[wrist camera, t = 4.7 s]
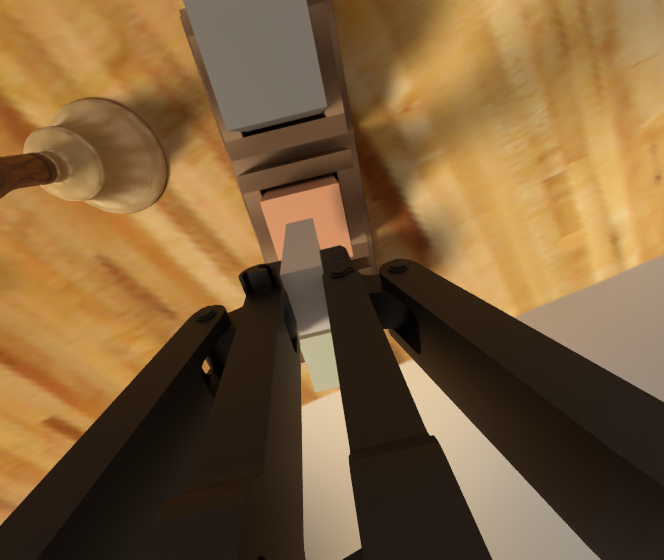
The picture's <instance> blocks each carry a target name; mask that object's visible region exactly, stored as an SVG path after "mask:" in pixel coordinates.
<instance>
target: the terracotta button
mask: <svg viewBox="0 0 664 560" xmlns="http://www.w3.org/2000/svg"><path fill="white" fill-rule="evenodd" d="M260 204H261V208H262V211H263V214H264V217H265V220H266V223H267V226H268V229H269V232H270V235H271V238H272V241H273V244H274V248H275V251H276V254H277V257H278V260H279V261H280V260H282V253H283V245H284V237H285V229H286V224H288V223H293V222H297V221H301V220H305V219H309V218H313V221H314V225H315V229H316V233H317V237H318V241H319V244H320V248H321V250H322V249H326V248H330V247H334V246H338V245H341V246H343V247H345V248H346V249H347V251H348V254H349V257H353V252H352V247H351V242H350V237H349V232H348V227H347V222H346V217H345V212H344V207H343V202H342V197H341V192H340V187H339V183H338V181H337V180H336V179H335V177H334V176H333V175H332V173H328V174H324V175H320V176H316V177H312V178H307V179H303V180H299V181H295V182H291V183H287V184H283V185H279V186H275V187H271V188H268V189H267V191H266V192H265V194H264V196H263V197H262V199H261V201H260Z"/></svg>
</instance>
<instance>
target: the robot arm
mask: <svg viewBox="0 0 664 560" xmlns="http://www.w3.org/2000/svg"><path fill="white" fill-rule="evenodd" d="M238 277H239V280H240V282H241V284H242V287H243V289H244V292H245V294H246V299H245V302H244V305H243V307H241V308H239V309H236V310H234V311H232V312H229V313H227V311H226V309H225V307H224V306H222V305H213V306H207V307H205V308H202V309H200V310H199V311H198V312H196V313H194V314H193V315H192V316H191V317H190V318H189V319H188V320H187V321H186V322H185V323H184V324H183V326H182V327H181V328H180V329H179V330H178V331H177V332H176V333H175V334H174V335H173V337H172V338H171V339H170V340H169V341H168V342H167V343H166V344H165V345H164V346H163V348H162V349H161V350H160V351H159V352H158V353H157V354H156V355H155V356H154V357H153V358H152V360H151V361H150V362H149V363H148V364H147V365H146V366H145V367H144V368H143V369H142V371H141V372H140V373H139V374H138V375H137V376H136V377H135V378H134V379H133V380H132V382H131V383H130V384H129V385H128V386H127V387H126V388H125V389H124V390H123V391H122V393H121V394H120V395H119V396H118V397H117V398H116V399H115V400H114V401H113V402H112V404H111V405H110V406H109V407H108V408H107V409H106V410H105V411H104V412H103V413H102V415H101V416H100V417H99V418H98V419H97V420H96V421H95V422H94V423H93V424H92V426H91V427H90V428H89V429H88V430H87V431H86V432H85V433H84V434H83V435H82V437H81V438H80V439H79V440H78V441H77V442H76V443H75V444H74V445H73V446H72V448H71V449H70V450H69V451H68V452H67V453H66V454H65V455H64V456H63V457H62V459H61V460H60V461H59V462H58V463H57V464H56V465H55V466H54V467H53V468H52V470H51V471H50V472H49V473H48V474H47V475H46V476H45V477H44V478H43V479H42V481H41V482H40V483H39V484H38V485H37V486H36V487H35V488H34V489H33V490H32V492H31V493H30V494H29V495H28V496H27V497H26V498H25V499H24V500H23V501H22V503H21V504H20V505H19V506H18V507H17V508H16V509H15V510H14V511H13V512H12V514H11V515H10V516H9V517H8V518H7V519H6V520H5V521H4V522H3V523H2V525H1V526H0V560H306V559H305V552H304V541H303V540H304V539H303V479H302V422H301V361H300V341H299V338H298V335H297V328H298V331H299V334H300V336H301V335H305V334H309V333H313V332H318V331H322V330H326V329H331V335H332V341H333V347H334V354H335V360H336V366H337V372H338V378H339V384H340V391H341V397H342V403H343V409H344V415H345V421H346V428H347V433H348V440H349V447H350V455H349V466H350V473H351V480H352V487H353V494H354V500H355V507H356V512H357V520H358V526H359V533H360V540H361V546H362V548H361V549H359V550H358V551H356V552H354V553H353V554H351V555H349V556H348V557H346V558H344V559H343V560H492V558H491V556H490V554H489V551H488V549H487V547H486V545H485V543H484V540H483V538H482V536H481V534H480V531H479V529H478V527H477V525H476V523H475V520H474V518H473V516H472V514H471V511H470V509H469V507H468V505H467V503H466V500H465V498H464V496H463V494H462V491H461V490H460V487H459V485H458V483H457V480H456V478H455V476H454V474H453V472H452V469H451V467H450V465H449V463H448V460H447V458H446V456H445V454H444V452H443V450H442V448H441V446H440V444H439V442H438V441H437V439H436V438H435V436H434V435H433V436H430V435H429V434H428V432H427V430H426V428H425V426H424V424H423V421H422V419H421V417H420V414H419V412H418V410H417V407H416V405H415V403H414V401H413V398H412V396H411V393H410V391H409V388H408V386H407V384H406V381H405V379H404V377H403V374H402V372H401V370H400V367H399V365H398V363H397V360H396V358H395V356H394V353H393V351H392V349H391V346H390V344H389V342H388V339H387V337H386V335H385V332H384V330H383V329H388V330H389V333H390V335H391V336H392V337H393V338H394V339H395V340H396V341H397V343H398V344H399V345H400V346H401V347H402V348H403V349H404V350H405V351H406V352H407V353H408V354H409V355H410V356H411V358H412V359H413V360H414V361H415V362H416V363H417V364H418V365H419V366H420V367H421V368H422V369H423V370H424V371H425V372H426V374H427V375H428V376H429V377H430V378H431V379H432V380H433V381H434V382H435V383H436V384H437V385H438V386H439V387H440V389H441V390H442V391H443V392H444V393H445V394H446V395H447V396H448V397H449V398H450V399H451V400H452V401H453V402H454V403H455V405H456V406H457V407H458V408H459V409H460V410H461V411H462V412H463V413H464V414H465V415H466V416H467V417H468V419H469V420H470V421H471V422H472V423H473V424H474V425H475V426H476V427H477V428H478V429H479V430H480V431H481V432H482V434H484V436H485V437H486V438H487V439H488V440H489V441H490V442H491V443H492V444H493V445H494V446H495V447H496V448H497V449H498V450H499V452H500V453H501V454H502V455H503V456H504V457H505V458H506V459H507V460H508V461H509V462H510V463H511V464H512V466H513V467H514V468H515V469H516V470H517V471H518V472H519V473H520V474H521V475H522V476H523V477H524V478H525V480H526V481H527V482H528V483H529V484H530V485H531V486H532V487H533V488H534V489H535V490H536V491H537V492H538V493H539V494H540V496H541V497H542V498H543V499H544V500H545V501H546V502H547V503H548V504H549V505H550V506H551V507H552V508H553V509H554V511H555V512H556V513H557V514H558V515H559V516H560V517H561V518H562V519H563V520H564V521H565V522H566V523H567V524H568V525H569V527H570V528H571V529H572V530H573V531H574V532H575V533H576V534H577V535H578V536H579V537H580V538H581V539H582V541H583V542H584V543H585V544H586V545H587V546H588V547H589V548H590V549H591V550H592V551H593V552H594V553H595V554H596V555H597V556H598V557H599V558H600V559H601V560H664V402H662V401H660V400H658V399H657V398H655V397H653V396H652V395H650V394H648V393H646V392H645V391H643V390H641V389H639V388H638V387H636V386H634V385H632V384H630V383H629V382H627V381H625V380H623V379H622V378H620V377H618V376H616V375H614V374H613V373H611V372H609V371H607V370H606V369H604V368H602V367H600V366H598V365H597V364H595V363H593V362H591V361H590V360H588V359H586V358H584V357H583V356H581V355H579V354H577V353H576V352H574V351H572V350H570V349H568V348H567V347H565V346H563V345H561V344H560V343H558V342H556V341H554V340H553V339H551V338H549V337H547V336H545V335H544V334H542V333H540V332H538V331H536V330H535V329H533V328H531V327H530V326H528V325H526V324H524V323H522V322H521V321H518V320H517V319H515V318H514V317H512V316H510V315H508V314H507V313H505V312H503V311H501V310H499V309H498V308H496V307H494V306H492V305H491V304H489V303H487V302H485V301H484V300H482V299H480V298H478V297H476V296H475V295H473V294H471V293H469V292H468V291H466V290H464V289H462V288H461V287H459V286H457V285H455V284H453V283H452V282H450V281H448V280H446V279H445V278H443V277H441V276H439V275H438V274H436V273H434V272H432V271H430V270H429V269H427V268H425V267H423V266H422V265H420V264H418V263H416V262H414V261H411V260H405V259H399V260H398V259H395V260H393V261H390V262H387V263H385V264H383V265H382V266H381V267H380V269H379V275H363V274H360V273H359V271H358V269H357V268H356V267H355V266H353V264H352V261H351V259H350V257H349V254H348V251H347V249H346V248H345V247H343V246H341V245H338V246H334V247H330V248H326V249H322V250H321V248H320V244H319V241H318V237H317V233H316V229H315V225H314V221H313V218H309V219H305V220H301V221H297V222H293V223H288V224H286V229H285V237H284V245H283V253H282V260H280V261H276V262H272V263H268V264H259V265H256V266H253V267H250V268H248V269H246V270H244V271H243V272H242V273H241V274H240V275H239V276H238ZM205 359H206V361H207V363H208V365H209V367H210V370H209V371H208V373H207V374H206V373H205V372H204V371H203V369H202V365H203V362H204V360H205Z"/></svg>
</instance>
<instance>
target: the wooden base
mask: <svg viewBox="0 0 664 560" xmlns="http://www.w3.org/2000/svg"><path fill="white" fill-rule="evenodd" d="M306 1H307V6H308V11H309V16H310V21H311V26H312V31H313V36H314V42H315V47H316V52H317V57H318V62H319V67H320V72H321V77H322V82H323V87H324V92H325V98H326V103H327V107H326V108H325V109H324V110H323V111H322V112H321V113H320V114H317V115H313V116H309V117H305V118H301V119H297V120H293V121H289V122H285V123H281V124H276V125H272V126H268V127H264V128H260V129H256V130H252V131H248V132H238V131H227V129H226V126H225V123H224V120H223V117H222V114H221V111H220V108H219V106H218V103H217V100H216V97H215V94H214V91H213V88H212V85H211V82H210V79H209V76H208V73H207V70H206V67H205V64H204V61H203V58H202V55H201V52H200V49H199V46H198V43H197V40H196V37H195V34H194V32H193V29H192V26H191V23H190V20H189V17H188V14H187V11H186V8H185V9H181V10H179V11H180V14H181V16H180V19H181V22H182V25H183V28H184V31H185V33H186V36H187V39H188V42H189V45H190V48H191V51H192V54H193V56H194V59H195V62H196V65H197V68H198V71H199V74H200V77H201V79H202V82H203V85H204V88H205V91H206V94H207V97H208V99H209V102H210V105H211V108H212V111H213V114H214V117H215V120H216V122H217V125H218V128H219V131H220V134H221V137H222V140H223V143H224V145H225V148H226V151H227V154H228V157H229V160H230V163H231V166H232V168H233V171H234V174H235V177H236V180H237V183H238V186H239V189H240V191H241V194H242V197H243V200H244V203H245V206H246V209H247V212H248V214H249V217H250V220H251V223H252V226H253V229H254V232H255V234H256V237H257V240H258V243H259V246H260V249H261V252H262V255H263V257H264V260H265V263H266V264H268V263H272V262H276V261H279V260H278V257H277V254H276V251H275V248H274V244H273V241H272V238H271V235H270V232H269V229H268V226H267V223H266V220H265V217H264V214H263V211H262V208H261V204H260V201H261V199H262V197H263V196H264V194H265V192H266V191H267V189H268V188H271V187H275V186H279V185H283V184H287V183H291V182H295V181H299V180H303V179H307V178H312V177H316V176H320V175H324V174H328V173H332V175H333V176H334V177H335V179H336V180H337V181H338V183H339V187H340V192H341V197H342V202H343V207H344V212H345V217H346V222H347V227H348V232H349V237H350V242H351V247H352V252H353V257H350V259H351V261H352V264H353V266H355V267H356V268H357V269H358V271H359V273H360V274H363V275H378V274H377V268H376V262H375V256H374V250H373V244H372V238H371V233H370V227H369V221H368V215H367V209H366V203H365V197H364V191H363V185H362V179H361V173H360V167H359V161H358V155H357V149H356V143H355V137H354V131H353V125H352V119H351V113H350V107H349V101H348V95H347V89H346V83H345V77H344V71H343V65H342V59H341V54H340V48H339V42H338V36H337V30H336V24H335V18H334V12H333V6H332V0H306ZM297 335H298V328H297ZM300 361H301V363H303V362H305V360H304V357H303V354H302V351H301V348H300Z"/></svg>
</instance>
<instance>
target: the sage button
mask: <svg viewBox="0 0 664 560" xmlns="http://www.w3.org/2000/svg"><path fill="white" fill-rule="evenodd" d="M298 338H299V341H300V348H301V351H302V354H303V357H304V360H305V363H306V366H307V369H308V372H309V375H310V378H311V381H312V384H313V387H314V390H315V392H320V391H324V390H328V389H333V388H337V387H340V384H339V378H338V372H337V366H336V360H335V354H334V347H333V341H332V335H331V329H326V330H322V331H318V332H313V333H309V334H305V335H301V336H300V334H299V331H298Z"/></svg>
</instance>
